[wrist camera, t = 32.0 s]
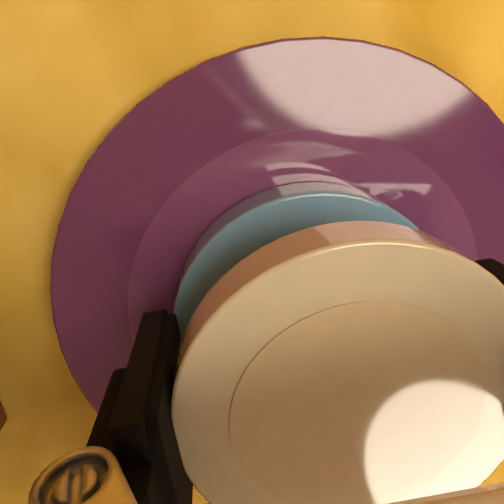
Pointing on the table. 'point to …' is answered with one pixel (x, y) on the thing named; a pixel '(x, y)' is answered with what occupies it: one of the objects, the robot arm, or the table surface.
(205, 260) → the blue plate
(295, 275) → the cream plate
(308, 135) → the plum plate
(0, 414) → the plate rack
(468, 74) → the table surface
